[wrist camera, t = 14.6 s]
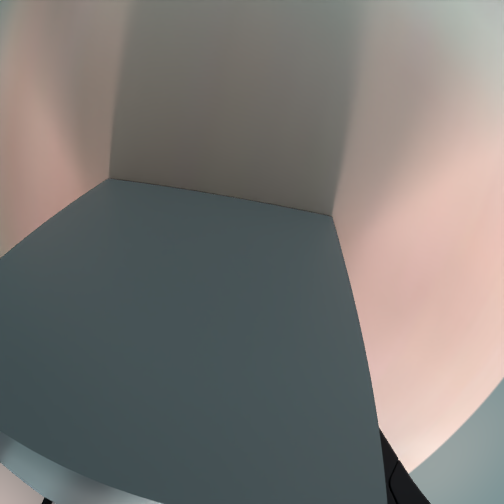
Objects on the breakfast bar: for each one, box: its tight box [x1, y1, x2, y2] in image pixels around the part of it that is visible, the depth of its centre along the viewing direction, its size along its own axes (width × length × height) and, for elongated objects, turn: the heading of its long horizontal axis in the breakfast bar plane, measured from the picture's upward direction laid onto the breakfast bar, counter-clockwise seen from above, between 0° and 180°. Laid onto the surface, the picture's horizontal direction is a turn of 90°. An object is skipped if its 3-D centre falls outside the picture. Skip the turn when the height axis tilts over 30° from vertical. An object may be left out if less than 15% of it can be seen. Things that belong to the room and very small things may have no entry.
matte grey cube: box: [0, 178, 387, 504], centre depth 8 cm, size 8×8×9 cm
